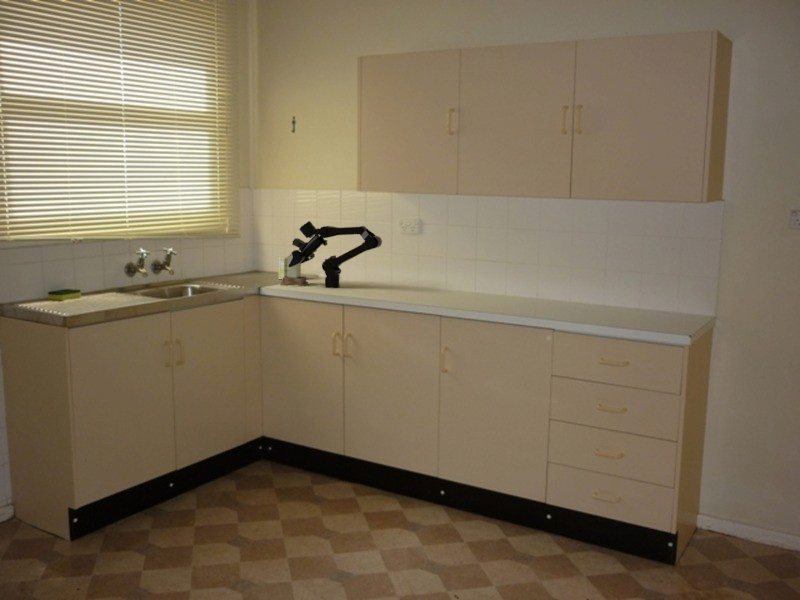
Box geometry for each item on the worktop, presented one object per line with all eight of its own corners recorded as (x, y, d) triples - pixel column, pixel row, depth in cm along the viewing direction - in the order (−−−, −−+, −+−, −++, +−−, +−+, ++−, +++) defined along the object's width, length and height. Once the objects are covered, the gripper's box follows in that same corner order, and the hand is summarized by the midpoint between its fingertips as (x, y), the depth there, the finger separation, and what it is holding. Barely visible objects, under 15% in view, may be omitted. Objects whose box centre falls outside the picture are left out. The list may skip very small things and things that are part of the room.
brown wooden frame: (307, 283, 409) (308, 276, 409) (304, 286, 400) (304, 279, 399) (284, 282, 410) (284, 275, 410) (280, 285, 400) (280, 278, 400)
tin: (300, 281, 407) (300, 254, 404) (296, 282, 402) (296, 255, 400) (290, 281, 408) (291, 253, 406) (287, 282, 403) (287, 254, 401)
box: (295, 278, 428) (295, 256, 427) (300, 279, 424) (301, 257, 422) (278, 279, 422) (278, 257, 420) (283, 280, 418) (284, 258, 416)
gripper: (309, 231, 409) (288, 252, 413) (295, 234, 391) (274, 255, 395) (323, 248, 408) (302, 268, 413) (310, 251, 390) (288, 272, 395)
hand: (292, 265), depth 404 cm, fingers open, 7 cm apart
